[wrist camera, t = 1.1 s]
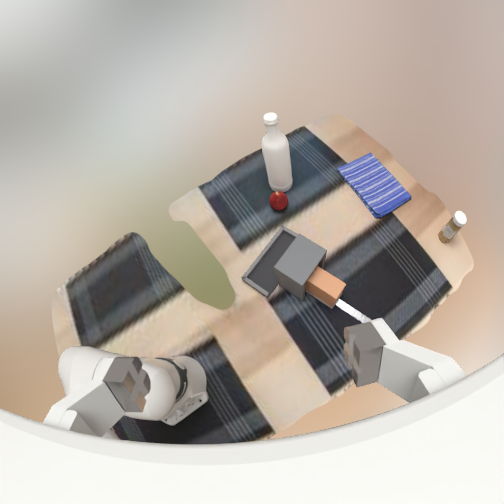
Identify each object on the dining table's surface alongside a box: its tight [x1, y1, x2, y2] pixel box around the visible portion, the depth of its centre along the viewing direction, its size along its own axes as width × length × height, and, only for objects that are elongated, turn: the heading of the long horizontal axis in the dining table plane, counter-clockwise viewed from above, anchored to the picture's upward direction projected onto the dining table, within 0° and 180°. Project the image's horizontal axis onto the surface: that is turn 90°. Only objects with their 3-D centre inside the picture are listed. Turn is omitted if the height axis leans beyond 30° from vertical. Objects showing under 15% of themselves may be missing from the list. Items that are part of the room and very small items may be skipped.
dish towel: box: [337, 153, 411, 218], centre depth 85 cm, size 17×24×3 cm
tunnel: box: [274, 234, 327, 301], centre depth 71 cm, size 10×8×15 cm
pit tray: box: [242, 225, 298, 298], centre depth 80 cm, size 20×9×2 cm, turn 142°
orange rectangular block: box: [305, 266, 346, 309], centre depth 71 cm, size 5×14×10 cm, turn 52°
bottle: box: [261, 112, 293, 192], centre depth 78 cm, size 8×8×30 cm
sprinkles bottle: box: [439, 211, 467, 243], centre depth 67 cm, size 5×5×13 cm
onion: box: [269, 191, 288, 210], centre depth 84 cm, size 6×6×8 cm
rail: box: [335, 299, 372, 323], centre depth 73 cm, size 2×30×1 cm, turn 52°
